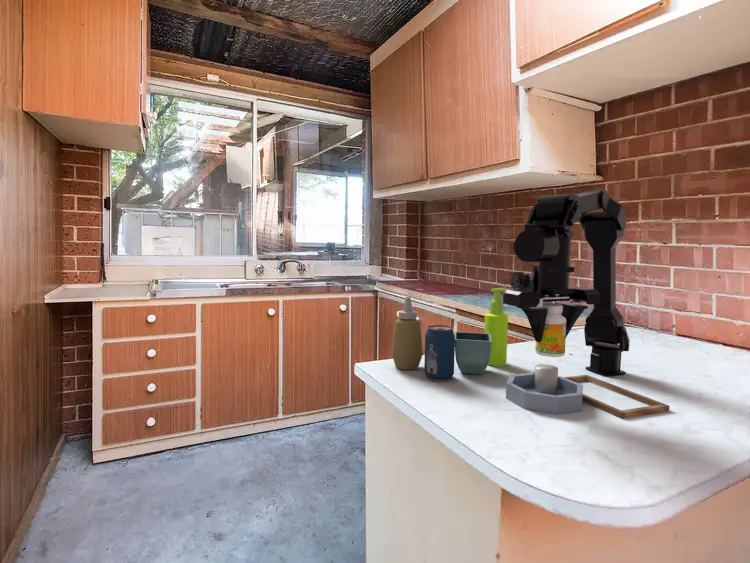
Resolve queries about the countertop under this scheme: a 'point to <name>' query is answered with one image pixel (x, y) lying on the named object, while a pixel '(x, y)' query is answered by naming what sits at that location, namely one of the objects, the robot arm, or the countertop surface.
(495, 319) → the soap dispenser
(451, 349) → the soda can
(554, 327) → the supplement bottle
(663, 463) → the countertop surface
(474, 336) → the flower pot
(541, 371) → the white rounded cylinder
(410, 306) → the squeeze bottle
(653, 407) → the wooden frame
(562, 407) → the bowl
